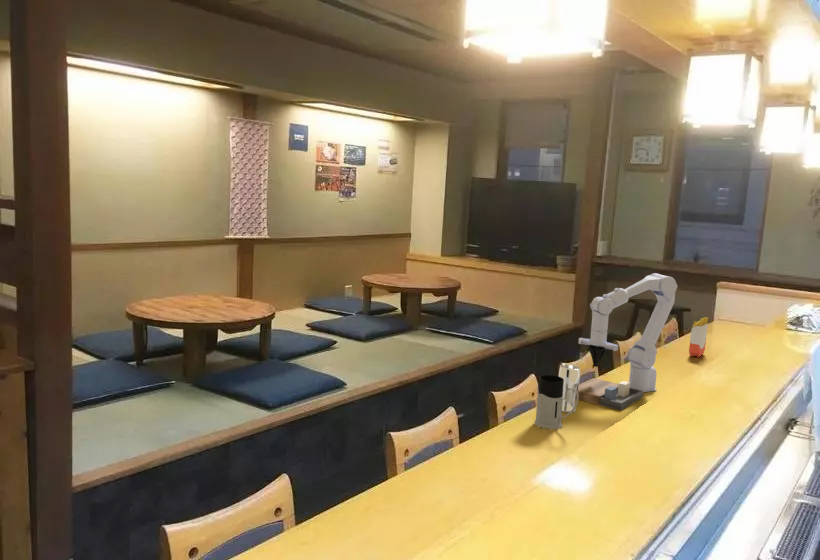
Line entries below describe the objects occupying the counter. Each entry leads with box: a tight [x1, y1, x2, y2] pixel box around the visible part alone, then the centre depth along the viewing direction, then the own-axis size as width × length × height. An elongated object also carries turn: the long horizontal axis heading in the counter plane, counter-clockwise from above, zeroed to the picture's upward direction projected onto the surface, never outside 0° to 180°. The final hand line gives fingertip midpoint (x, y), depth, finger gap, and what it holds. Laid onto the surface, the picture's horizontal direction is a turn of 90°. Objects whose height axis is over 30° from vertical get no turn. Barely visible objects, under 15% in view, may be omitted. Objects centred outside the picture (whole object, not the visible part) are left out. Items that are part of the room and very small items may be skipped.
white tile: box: [617, 380, 630, 397], centre depth 247 cm, size 4×4×2 cm
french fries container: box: [688, 316, 709, 358], centre depth 314 cm, size 5×11×18 cm, turn 142°
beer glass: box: [558, 363, 581, 414], centre depth 230 cm, size 7×7×15 cm
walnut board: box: [576, 377, 618, 406], centre depth 249 cm, size 12×20×3 cm, turn 141°
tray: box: [599, 388, 644, 411], centre depth 243 cm, size 8×20×2 cm, turn 141°
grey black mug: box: [533, 374, 579, 430], centre depth 213 cm, size 9×14×15 cm, turn 44°
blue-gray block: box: [604, 386, 617, 401], centre depth 240 cm, size 4×4×2 cm
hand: (596, 366), depth 253 cm, fingers closed
